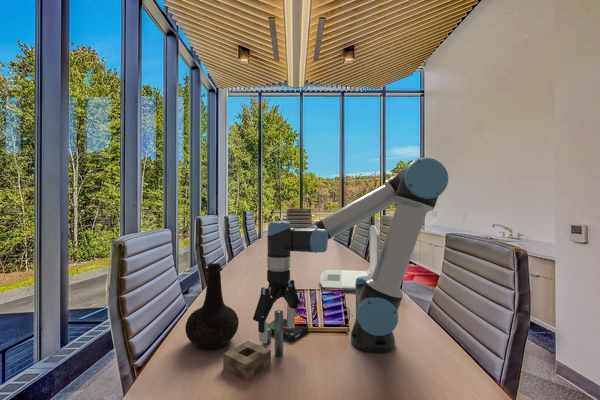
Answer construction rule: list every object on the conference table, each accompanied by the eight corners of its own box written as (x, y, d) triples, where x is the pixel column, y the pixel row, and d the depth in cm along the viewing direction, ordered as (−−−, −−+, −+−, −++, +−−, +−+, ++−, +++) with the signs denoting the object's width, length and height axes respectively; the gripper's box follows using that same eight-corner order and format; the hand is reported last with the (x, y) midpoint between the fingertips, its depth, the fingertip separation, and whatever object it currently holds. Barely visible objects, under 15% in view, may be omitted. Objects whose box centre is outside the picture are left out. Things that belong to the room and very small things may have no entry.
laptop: (322, 273, 204) (322, 223, 204) (371, 274, 199) (371, 223, 199) (317, 291, 163) (317, 229, 163) (379, 294, 158) (379, 229, 158)
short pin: (272, 341, 105) (272, 329, 105) (267, 344, 103) (267, 331, 103) (267, 339, 107) (267, 326, 107) (261, 342, 105) (261, 329, 105)
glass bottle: (179, 340, 106) (179, 262, 106) (226, 327, 117) (226, 256, 117) (194, 362, 92) (194, 272, 92) (247, 345, 103) (247, 264, 103)
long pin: (285, 354, 97) (284, 311, 97) (279, 357, 94) (279, 314, 94) (278, 351, 98) (278, 309, 98) (272, 355, 96) (272, 312, 96)
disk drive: (309, 333, 113) (279, 323, 122) (309, 326, 113) (279, 316, 122) (293, 344, 105) (262, 332, 113) (293, 336, 105) (262, 325, 113)
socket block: (270, 364, 90) (270, 350, 90) (246, 380, 82) (246, 364, 82) (248, 354, 96) (248, 340, 96) (223, 368, 88) (223, 353, 88)
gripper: (293, 261, 109) (292, 318, 109) (241, 274, 89) (240, 345, 89) (310, 264, 104) (309, 324, 104) (259, 278, 84) (258, 353, 84)
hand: (277, 334), depth 96 cm, fingers open, 13 cm apart
